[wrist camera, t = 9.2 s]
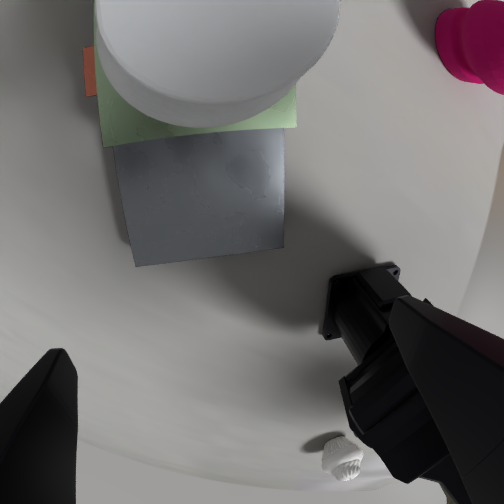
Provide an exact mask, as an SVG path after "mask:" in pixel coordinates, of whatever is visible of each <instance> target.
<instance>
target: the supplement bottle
mask: <svg viewBox="0 0 504 504" xmlns="http://www.w3.org/2000/svg"><path fill="white" fill-rule="evenodd" d="M339 15H340V0H95V16H96V23H97V29H96V44H97V51H98V55H99V59H100V62H101V65H102V68H103V70H104V72H105V75H106V77H107V78H108V80H109V81H110V83H111V85H112V86H113V87H114V89H115V90H116V91H117V92H118V93H119V95H120V96H121V97H122V98H123V99H124V100H125V101H127V102H128V103H129V104H130V105H131V106H133V107H134V108H136V109H137V110H139V111H140V112H142V113H144V114H145V115H147V116H150V117H152V118H154V119H156V120H159V121H162V122H165V123H168V124H172V125H177V126H183V127H193V128H209V127H219V126H225V125H229V124H233V123H237V122H240V121H243V120H246V119H249V118H251V117H253V116H255V115H257V114H259V113H261V112H263V111H265V110H267V109H268V108H270V107H271V106H273V105H274V104H275V103H277V102H278V101H279V100H280V99H282V98H283V97H284V96H285V95H286V94H287V93H288V92H289V91H290V90H291V89H292V88H293V86H294V85H295V84H296V83H297V82H298V80H299V79H300V78H301V76H303V75H304V74H305V73H306V72H307V71H308V70H309V69H310V68H311V67H313V66H314V65H315V64H316V62H317V61H318V60H319V59H320V57H321V56H322V55H323V54H324V52H325V50H326V49H327V47H328V46H329V44H330V42H331V40H332V38H333V36H334V33H335V30H336V27H337V24H338V20H339Z"/></svg>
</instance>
